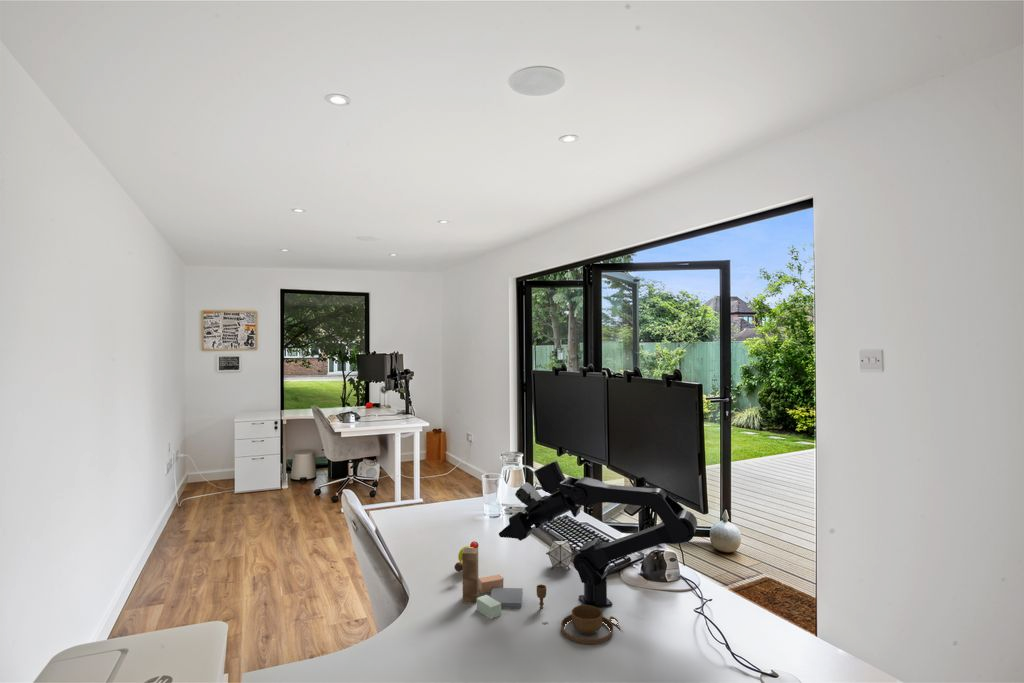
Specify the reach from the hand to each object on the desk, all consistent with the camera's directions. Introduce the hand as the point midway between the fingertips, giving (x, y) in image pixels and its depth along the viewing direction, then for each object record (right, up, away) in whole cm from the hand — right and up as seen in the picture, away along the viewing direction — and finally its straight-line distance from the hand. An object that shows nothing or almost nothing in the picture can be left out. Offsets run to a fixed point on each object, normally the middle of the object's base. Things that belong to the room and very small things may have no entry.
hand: (506, 529), depth 151 cm
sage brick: (-4, -15, -15) cm, 22 cm away
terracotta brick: (-4, -15, -2) cm, 16 cm away
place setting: (+17, -16, -20) cm, 31 cm away
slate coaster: (0, -15, -9) cm, 17 cm away
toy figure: (-11, -15, +9) cm, 21 cm away
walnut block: (-9, -15, -8) cm, 19 cm away
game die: (+16, -15, +11) cm, 24 cm away
